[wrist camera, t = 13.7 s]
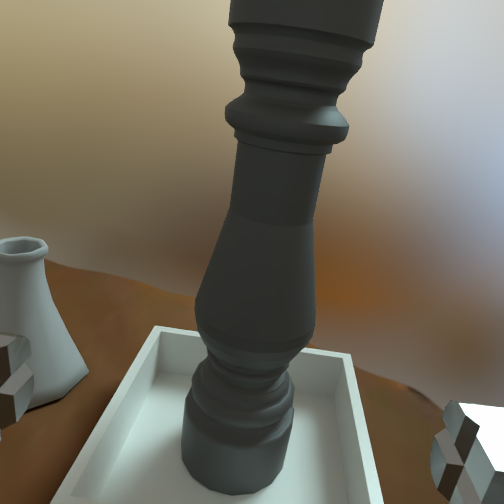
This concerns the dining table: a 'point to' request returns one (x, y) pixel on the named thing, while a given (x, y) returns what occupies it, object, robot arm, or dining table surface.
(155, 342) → the box
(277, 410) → the candle holder
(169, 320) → the dining table surface
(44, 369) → the flask
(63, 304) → the dining table surface
